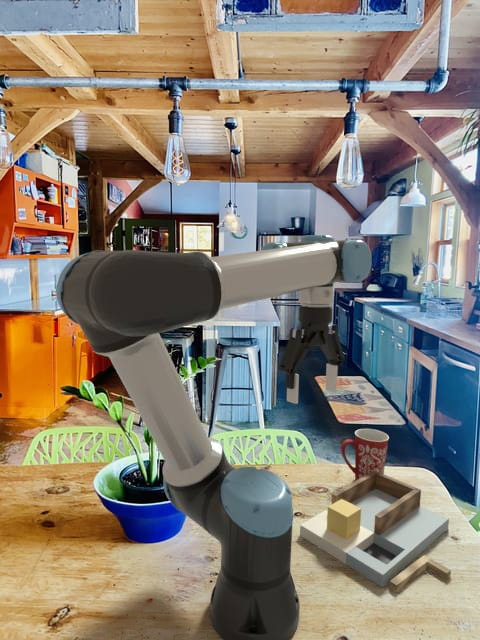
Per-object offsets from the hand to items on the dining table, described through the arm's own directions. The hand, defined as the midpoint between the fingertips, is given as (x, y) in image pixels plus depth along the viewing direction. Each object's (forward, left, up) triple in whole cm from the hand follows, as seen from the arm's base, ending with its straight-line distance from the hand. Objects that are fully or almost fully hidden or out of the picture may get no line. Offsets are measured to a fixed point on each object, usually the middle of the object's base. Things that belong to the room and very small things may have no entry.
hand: (312, 396), depth 99 cm
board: (+6, -14, -29) cm, 33 cm away
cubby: (+11, -11, -26) cm, 31 cm away
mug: (+24, +1, -29) cm, 38 cm away
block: (-2, -12, -26) cm, 29 cm away
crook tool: (-1, -28, -29) cm, 41 cm away
